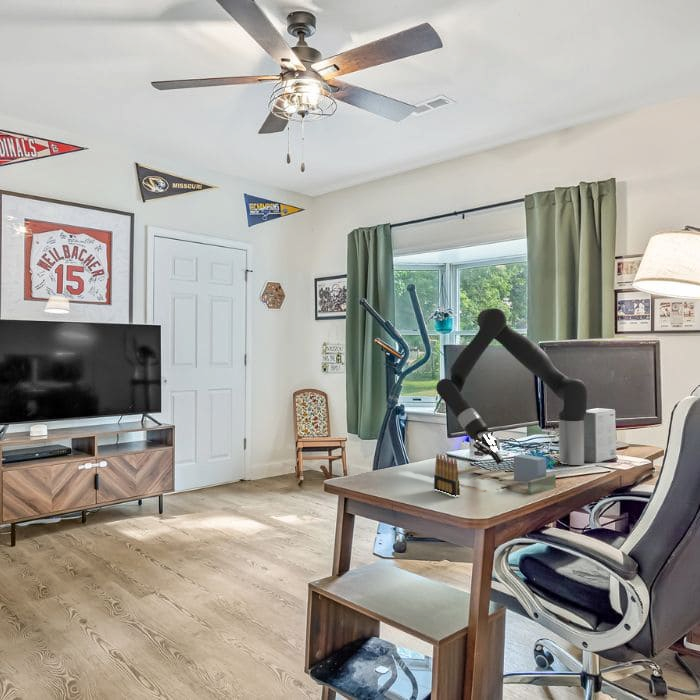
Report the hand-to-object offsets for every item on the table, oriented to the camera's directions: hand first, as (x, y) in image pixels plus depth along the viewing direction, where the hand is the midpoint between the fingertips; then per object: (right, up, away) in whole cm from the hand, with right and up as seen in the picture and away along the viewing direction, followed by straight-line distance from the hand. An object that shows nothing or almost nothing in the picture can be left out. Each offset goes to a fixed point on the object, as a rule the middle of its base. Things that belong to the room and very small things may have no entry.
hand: (500, 462), depth 195 cm
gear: (+18, -6, +11) cm, 22 cm away
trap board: (0, -6, -2) cm, 6 cm away
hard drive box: (+48, -5, +32) cm, 58 cm away
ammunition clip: (-22, -7, -18) cm, 29 cm away
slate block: (+7, -4, -9) cm, 12 cm away
